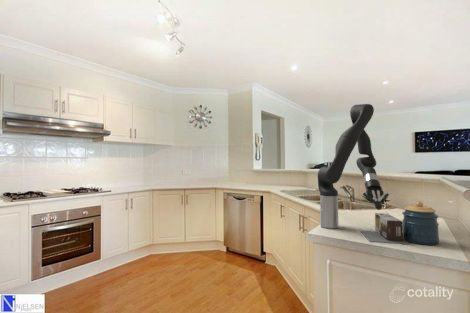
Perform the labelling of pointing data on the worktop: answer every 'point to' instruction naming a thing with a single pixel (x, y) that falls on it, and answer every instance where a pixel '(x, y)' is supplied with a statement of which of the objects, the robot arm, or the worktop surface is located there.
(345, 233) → the worktop surface
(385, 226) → the coffee box
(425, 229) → the canister
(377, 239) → the charcoal mat
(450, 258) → the worktop surface
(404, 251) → the worktop surface
